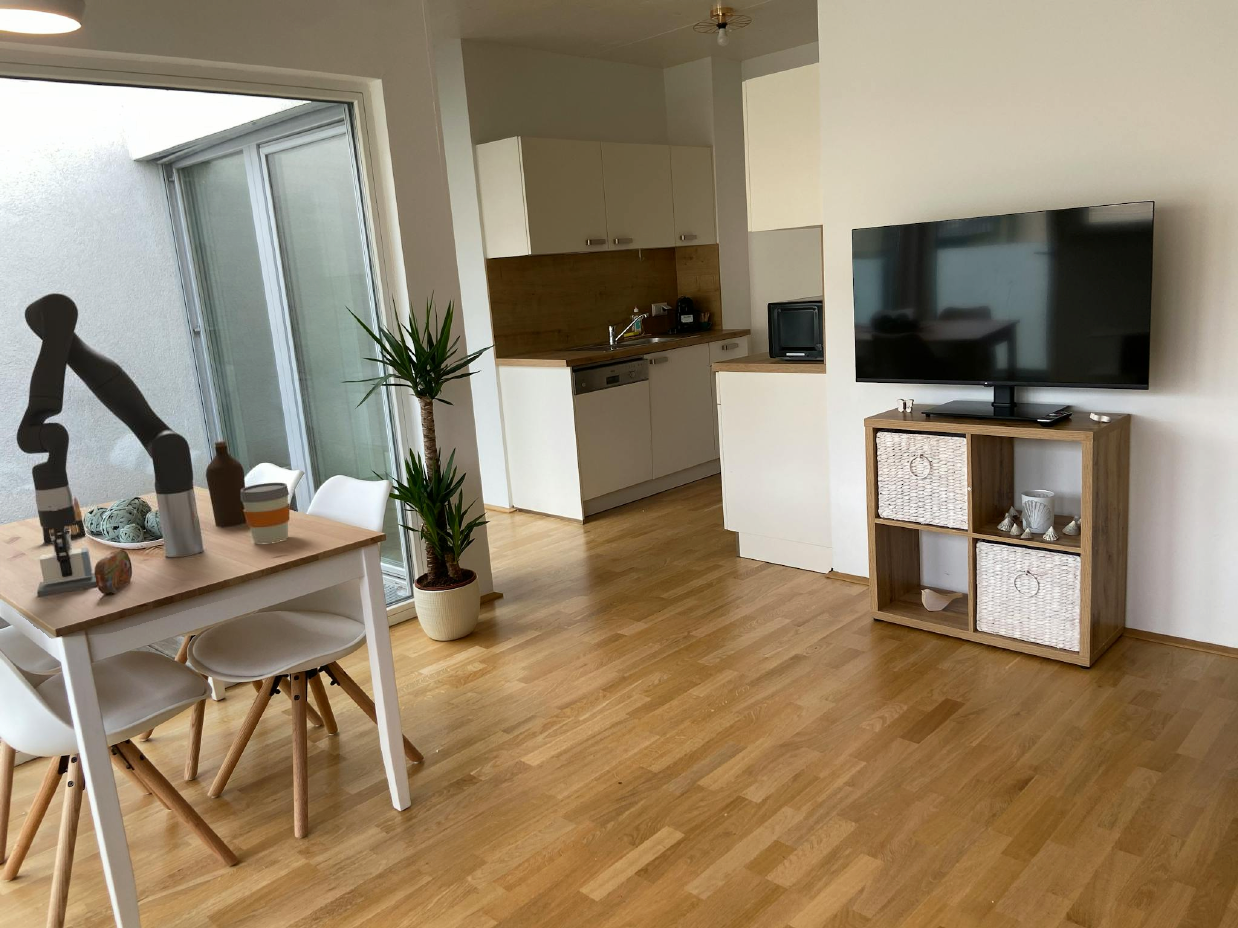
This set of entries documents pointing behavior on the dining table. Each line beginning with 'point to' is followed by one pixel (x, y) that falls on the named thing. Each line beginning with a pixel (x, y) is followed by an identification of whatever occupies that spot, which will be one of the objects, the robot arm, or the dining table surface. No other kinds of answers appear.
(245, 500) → the reusable coffee cup
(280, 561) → the dining table surface
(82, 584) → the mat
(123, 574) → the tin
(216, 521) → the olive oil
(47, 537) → the ammunition clip
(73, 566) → the box
